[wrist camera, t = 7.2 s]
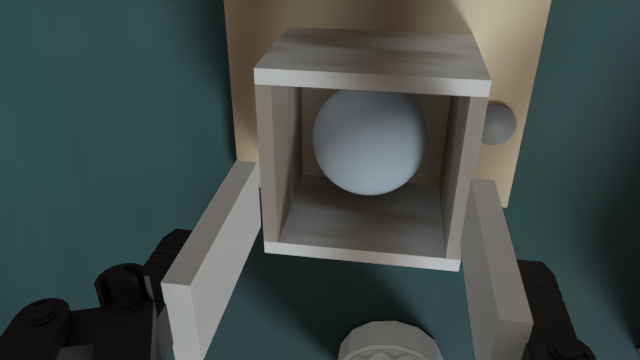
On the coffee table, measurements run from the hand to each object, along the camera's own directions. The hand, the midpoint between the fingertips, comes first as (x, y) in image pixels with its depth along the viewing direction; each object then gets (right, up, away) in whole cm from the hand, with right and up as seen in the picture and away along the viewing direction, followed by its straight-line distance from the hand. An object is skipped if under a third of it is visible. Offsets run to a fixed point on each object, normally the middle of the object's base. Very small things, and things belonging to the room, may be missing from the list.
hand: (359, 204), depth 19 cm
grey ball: (+1, +4, +7) cm, 8 cm away
